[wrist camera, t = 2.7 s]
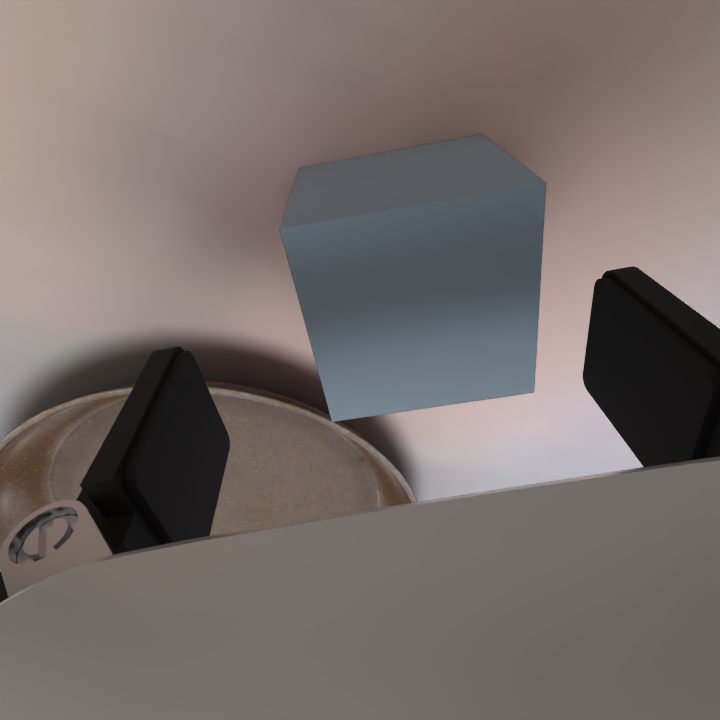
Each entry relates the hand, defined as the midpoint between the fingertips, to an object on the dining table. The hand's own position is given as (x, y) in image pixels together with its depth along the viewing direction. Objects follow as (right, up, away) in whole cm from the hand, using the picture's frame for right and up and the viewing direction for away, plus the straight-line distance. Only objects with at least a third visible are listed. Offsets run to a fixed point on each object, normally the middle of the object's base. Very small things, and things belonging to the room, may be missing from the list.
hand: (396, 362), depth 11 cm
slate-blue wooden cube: (+1, +5, +6) cm, 8 cm away
